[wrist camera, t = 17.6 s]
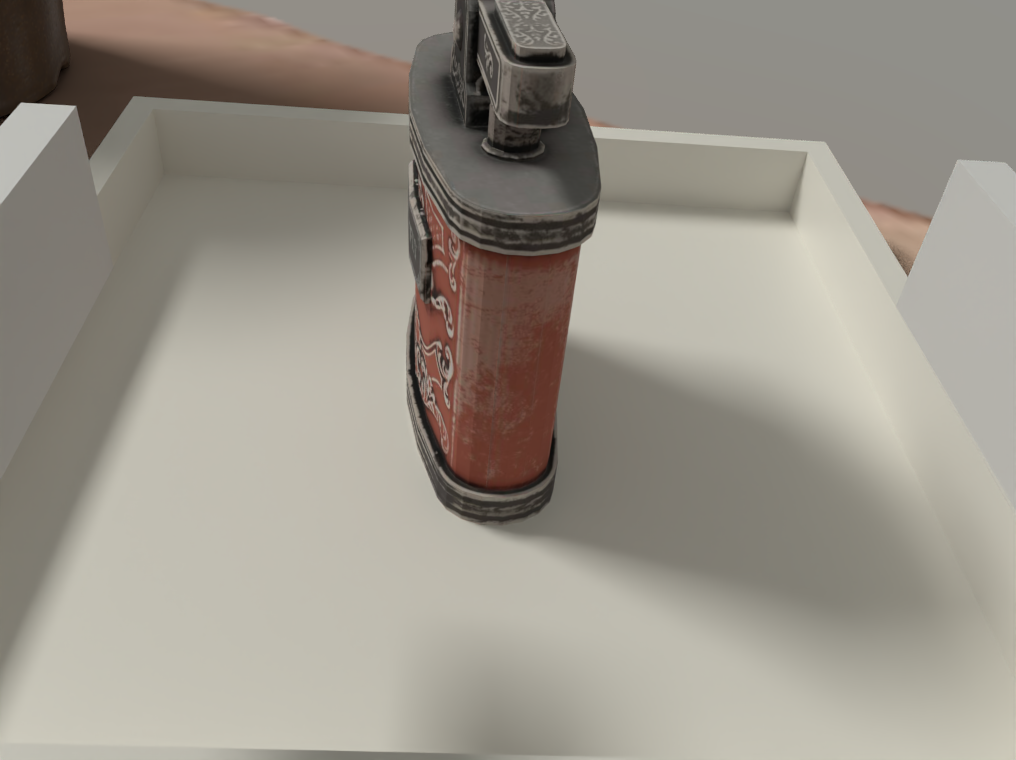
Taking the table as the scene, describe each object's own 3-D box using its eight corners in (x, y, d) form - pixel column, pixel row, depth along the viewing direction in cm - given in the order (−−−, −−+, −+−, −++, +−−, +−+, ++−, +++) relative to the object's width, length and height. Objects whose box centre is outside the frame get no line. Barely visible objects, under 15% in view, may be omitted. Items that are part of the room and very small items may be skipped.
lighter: (394, 304, 25) (395, -95, 19) (516, 300, 26) (557, -89, 20) (422, 531, 19) (435, 59, 13) (580, 519, 20) (668, 62, 14)
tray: (-250, 887, 14) (-352, 792, 12) (149, 182, 31) (133, 96, 29) (1136, 906, 16) (1242, 824, 14) (799, 222, 32) (825, 142, 30)
